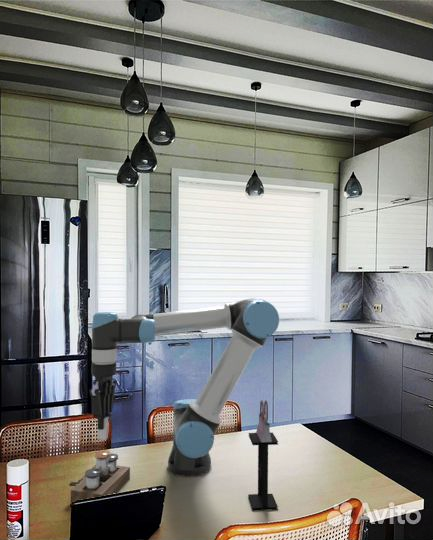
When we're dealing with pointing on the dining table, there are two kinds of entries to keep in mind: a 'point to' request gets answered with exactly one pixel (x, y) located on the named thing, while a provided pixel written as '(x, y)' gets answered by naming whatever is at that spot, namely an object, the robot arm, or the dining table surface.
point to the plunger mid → (102, 464)
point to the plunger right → (112, 463)
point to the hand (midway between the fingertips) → (102, 438)
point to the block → (102, 485)
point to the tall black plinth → (263, 462)
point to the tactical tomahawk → (79, 479)
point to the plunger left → (92, 479)
